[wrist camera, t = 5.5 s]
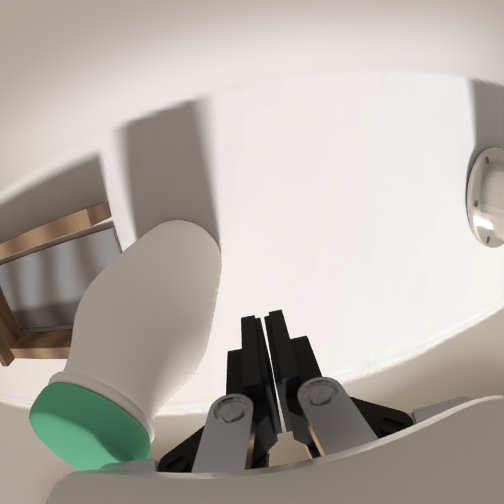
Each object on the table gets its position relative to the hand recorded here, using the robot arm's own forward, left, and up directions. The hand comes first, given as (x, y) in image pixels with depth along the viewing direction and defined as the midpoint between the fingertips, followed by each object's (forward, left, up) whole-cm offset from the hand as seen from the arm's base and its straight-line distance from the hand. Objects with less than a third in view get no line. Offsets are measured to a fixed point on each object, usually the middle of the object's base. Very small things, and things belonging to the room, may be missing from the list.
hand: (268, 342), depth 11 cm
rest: (+23, 0, -14) cm, 27 cm away
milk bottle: (+7, 0, -15) cm, 16 cm away
